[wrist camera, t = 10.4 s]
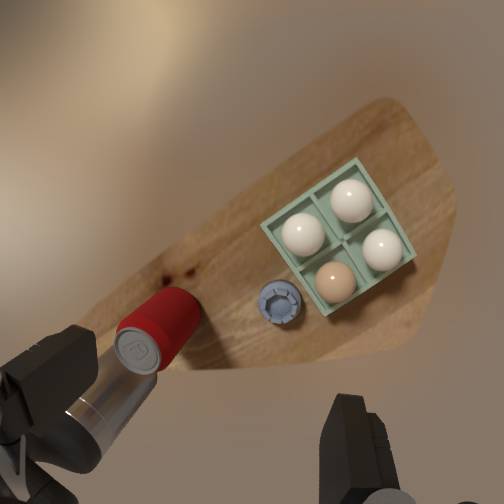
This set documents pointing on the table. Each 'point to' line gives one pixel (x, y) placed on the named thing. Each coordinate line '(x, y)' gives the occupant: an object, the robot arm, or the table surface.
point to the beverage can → (156, 331)
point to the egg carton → (337, 234)
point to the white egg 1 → (302, 234)
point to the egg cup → (279, 301)
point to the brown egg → (335, 282)
